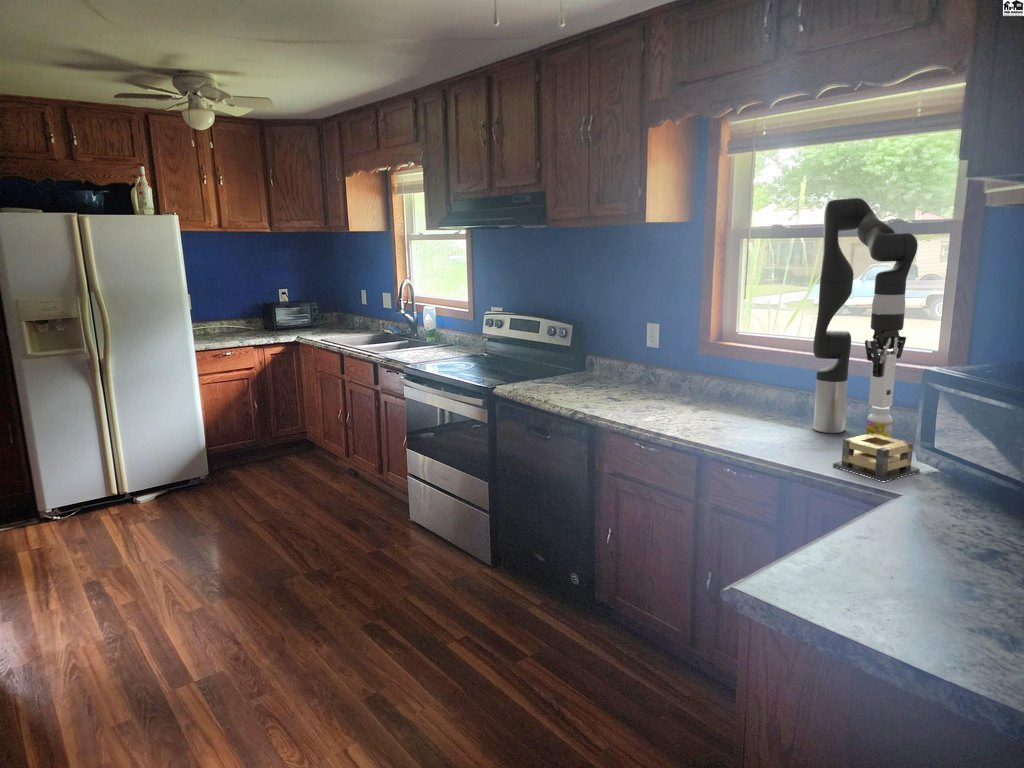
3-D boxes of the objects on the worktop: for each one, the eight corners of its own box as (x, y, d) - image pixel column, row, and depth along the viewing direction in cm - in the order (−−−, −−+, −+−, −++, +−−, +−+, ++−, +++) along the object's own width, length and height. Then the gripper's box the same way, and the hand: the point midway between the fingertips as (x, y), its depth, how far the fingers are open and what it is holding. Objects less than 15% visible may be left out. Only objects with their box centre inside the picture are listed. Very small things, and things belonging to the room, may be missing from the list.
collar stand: (868, 457, 191) (870, 431, 189) (919, 472, 178) (922, 443, 176) (832, 466, 184) (834, 439, 183) (883, 482, 171) (885, 453, 170)
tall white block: (878, 403, 180) (882, 352, 177) (892, 406, 177) (897, 354, 174) (868, 405, 179) (872, 354, 176) (882, 408, 175) (887, 356, 172)
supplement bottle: (859, 446, 201) (862, 405, 199) (876, 443, 204) (879, 403, 201) (878, 452, 195) (882, 410, 193) (895, 449, 198) (898, 407, 195)
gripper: (891, 308, 179) (886, 370, 182) (856, 312, 173) (852, 376, 176) (919, 310, 172) (913, 375, 176) (883, 314, 166) (878, 381, 170)
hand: (882, 375), depth 176 cm, fingers closed on tall white block, 4 cm apart
